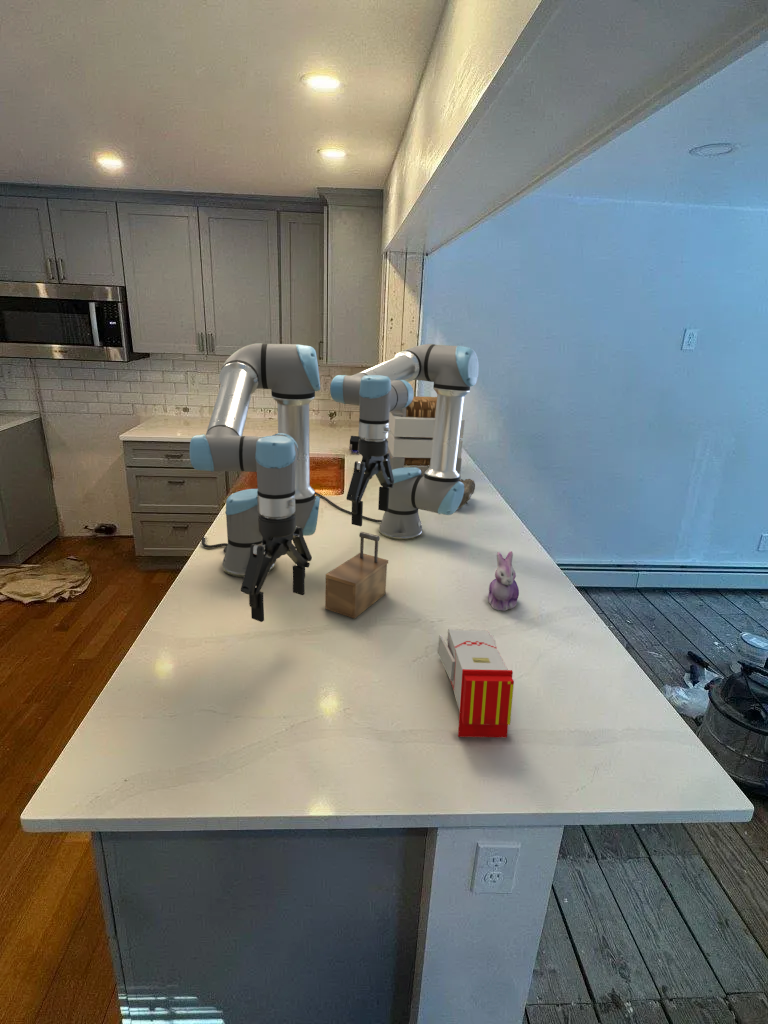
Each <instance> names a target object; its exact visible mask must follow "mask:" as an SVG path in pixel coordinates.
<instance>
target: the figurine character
mask: <svg viewBox="0 0 768 1024" xmlns="http://www.w3.org/2000/svg"><path fill="white" fill-rule="evenodd" d="M359 439H360V437H359V436H358V435H350V438H349V446H348V448H349V449H348V450H349V451H351V455H352V454H354V453H356V455H358V454H359V452H358V440H359Z"/></svg>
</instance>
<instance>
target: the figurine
mask: <svg viewBox="0 0 768 1024" xmlns="http://www.w3.org/2000/svg"><path fill="white" fill-rule="evenodd" d="M513 556H514V553H513V551H512V550H510V551H508V553H507V555H506V556H505V558H504V556H503V555H502V553H501V552H500V551H497V552H496V562H497V563H496V564H497V567H496V569H495V571H494V576H495V578H494V579H492V581H491V582H489V585H488V596H487V601H488V602H487V603H489V605H491V608H492V609H493V610H496V611H497V610H498V611H503V612H505V611H507V610H511V609H514V608H515V606H516V605H517V603H518V599H519V596H520V590H519V585H518V583H517V581H516V576H517V575H516V571H515V568H514V566H513Z"/></svg>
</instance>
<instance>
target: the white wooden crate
mask: <svg viewBox="0 0 768 1024" xmlns="http://www.w3.org/2000/svg"><path fill="white" fill-rule="evenodd" d="M436 402H437V396H415V395H414V397H413V400H412V402H411V403H410V404H409V405H408V406H407V407H404V408H403V409H400V410H394V411H390V412H389V431H388V438H386V439H387V441H388V453H389V454H390V464H391V469H392V470H393V469H397V468H405V466H406V467H409V466H411V467H417V466H418V467H430V460H431V450H432V441H433V431H434V421H435V412H436ZM464 429H465V419H464V418H462V419H461V428H460V436H459V445H458V453H457V462H456V471H457V473H458V474H459V480H461V472H462V461H463V460H462V453H463V442H464V441H463V440H462V439H463V438H464V431H465V430H464Z"/></svg>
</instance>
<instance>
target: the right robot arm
mask: <svg viewBox="0 0 768 1024" xmlns="http://www.w3.org/2000/svg"><path fill="white" fill-rule="evenodd" d="M479 372H480V366H479V358H478V355H477V353H476V351H475V350H474V349H473V348H472V347H469V346H462V345H451V344H450V345H449V344H436V343H435V344H434V343H425V344H424V343H423V344H419V345H415V346H412V347H409V348H406V349H404V350H402V351H399V352H397V353H396V354H395V355H394V357H393V358H391V359H389V360H386V361H383V362H381V363H379V364H375V365H374V366H371V367H369V368H367V369H364V370H362V371H360V372H357V373H355V374H353V375H347V374H338V375H335V376H334V377H333V378H332V380H331V382H330V387H329V391H330V397H331V399H332V400H333V401H334V402H335V403H341V404H343V405H350V406H359V417H358V435H357V436H359V437H360V439H359V440H358V454H359V455H361V457H362V458H361V461H358V460H356V461H355V462H354V464H353V472H352V475H351V480H350V483H349V487H348V491H347V493H346V499H345V500H346V501H350V502H351V511H350V510H347V509H345V508H343V507H340V506H339V505H337V504H336V503H334V502H333V501H331V500H330V499H329V498H327V497H325V496H324V495H323V494H320V493H318V492H316V491H315V496H317V497H319V498H322V499H324V500H325V501H326V502H328V503H329V504H330V505H332V506H333V507H335V508H336V509H338V510H340V511H342V512H344V513H346V514H348V515H351V525H353V526H357V527H362V526H363V519H365V520H366V521H367V520H368V521H371V522H375V523H379V527H378V533H379V534H380V535H381V536H382V537H385V538H387V539H389V540H395V541H410V540H415V539H418V538H420V537H421V536H422V535H423V525H422V524H423V523H422V520H421V518H420V515H419V510H421V511H426V512H429V513H436V514H438V515H445V516H451V515H453V514H454V513H456V512H457V510H458V507H459V505H460V503H461V501H462V498H463V494H464V484H463V483H462V482H460V481H459V474H458V473H457V471H456V462H457V453H458V445H459V436H460V428H461V419H463V410H464V402H465V397H466V396H467V395H468V394H469V393H470V392H471V391H470V390H471V387H474V386H475V385H476V384H477V382H478V378H479ZM412 381H423V382H430V383H433V388H432V389H433V390H434V391H435V393H436V397H437V402H436V412H435V421H434V431H433V441H432V450H431V460H430V466H428V468H427V469H426V470H424V474H422V470H421V468H419V467H414V466H411V467H409V466H406V467H405V466H404V468H397V469H393V470H392V469H391V464H390V454H389V453H388V441H387V439H386V438H388V431H389V412H390V411H394V410H400V409H403V408H404V407H407V406H408V405H409V404H410V403H411V402H412V400H413V397H414V396H415V395H414V394H415V393H414V388H413V385H412V384H411V383H410V382H412ZM374 476H376V478H377V481H378V482H379V484H380V486H379V487H378V504H377V505H378V506H377V507H378V511H382V512H384V513H383V515H382V519H376V518H371V517H369V516H365V515H363V509H364V508H363V507H364V501H363V500H362V498H363V497H364V494H365V492H366V489H367V487H368V484H369V482H370V480H371V479H373V477H374Z"/></svg>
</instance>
